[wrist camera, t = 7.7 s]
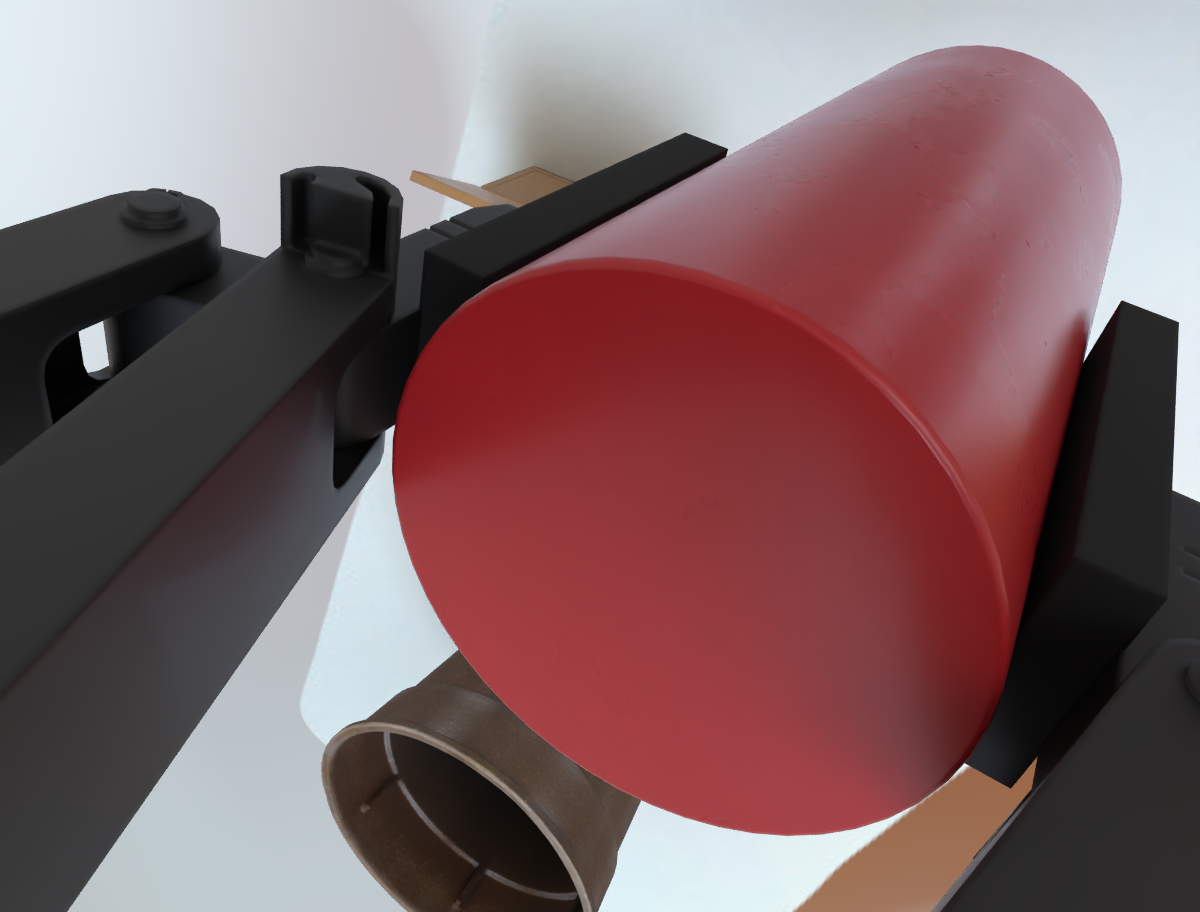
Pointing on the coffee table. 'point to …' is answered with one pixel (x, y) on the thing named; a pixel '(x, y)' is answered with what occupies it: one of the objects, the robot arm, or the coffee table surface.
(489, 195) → the flap
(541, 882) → the plant pot
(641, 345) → the can
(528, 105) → the coffee table surface
